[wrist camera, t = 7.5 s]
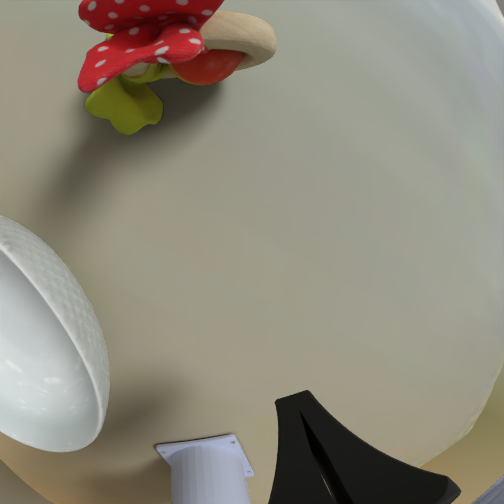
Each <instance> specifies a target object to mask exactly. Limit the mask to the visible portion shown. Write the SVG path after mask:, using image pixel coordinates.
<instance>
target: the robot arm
mask: <svg viewBox="0 0 504 504" xmlns="http://www.w3.org/2000/svg"><path fill="white" fill-rule="evenodd" d="M275 405H276V410H277V416H278V453H277V463H276V470H275V476H274V481H273V486H272V491H271V495H270V499H269V502H268V504H451V503H452V502H453V501H454V500H455V499H456V498H457V497H458V496H459V495H460V493H461V490H460V489H459V487H458V486H457V485H456V484H455V483H454V482H453V481H452V480H451V479H450V478H449V477H447V476H444V475H440V474H436V473H432V472H429V471H425V470H422V469H419V468H417V467H414V466H411V465H408V464H406V463H404V462H401V461H399V460H397V459H395V458H392V457H390V456H388V455H386V454H385V453H383V452H381V451H379V450H377V449H376V448H374V447H372V446H371V445H369V444H367V443H366V442H364V441H363V440H362V439H360V438H359V437H357V436H356V435H355V434H353V433H352V432H351V431H349V430H348V429H347V428H346V427H344V426H343V425H342V424H341V423H340V422H339V421H337V420H336V419H335V418H334V417H333V416H332V415H331V414H330V413H329V412H328V411H327V410H326V409H325V408H324V407H323V406H322V405H321V404H320V403H319V402H318V401H317V400H316V398H315V397H314V396H313V395H312V393H311V392H310V391H308V390H305V391H302V392H299V393H296V394H293V395H290V396H287V397H283V398H280V399H277V400H276V401H275ZM156 450H157V451H158V452H159V454H160V455H161V456H162V457H163V458H164V459H165V461H166V462H167V463H168V464H169V465H170V466H171V504H251V499H250V494H249V490H248V485H247V480H246V478H247V477H252V476H254V472H253V470H252V468H251V466H250V464H249V462H248V460H247V458H246V456H245V454H244V452H243V450H242V448H241V446H240V444H239V442H238V440H237V438H236V436H235V435H233V434H229V435H224V436H218V437H213V438H207V439H200V440H194V441H186V442H178V443H169V444H159V445H157V446H156ZM321 475H322V476H321ZM322 477H323V478H322ZM323 479H324V480H325V482H326V484H327V486H326V484H325V482H324V480H323ZM327 487H328V488H327ZM328 489H329V490H328ZM329 491H330V492H329ZM330 493H331V495H330ZM331 496H332V497H331ZM332 498H333V499H332ZM471 504H504V475H503V476H502V477H501V478H500V479H499V480H498V481H497V482H496V483H495V484H494V485H492V486H491V487H490V488H489V489H488V490H487V491H486V492H485V493H483V494H482V495H481V496H480V497H479V498H477V499H476V500H475V501H474V502H472V503H471Z"/></svg>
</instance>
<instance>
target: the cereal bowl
mask: <svg viewBox="0 0 504 504" xmlns="http://www.w3.org/2000/svg"><path fill="white" fill-rule="evenodd" d="M109 365H110V364H109V361H108V352H107V350H106V343H105V341H104V338H103V333H102V330H101V328H100V326H99V322H98V320H97V317H96V315H95V312H94V310H93V307H92V306H91V305H90V302H89V301H88V299H87V297H86V295H85V292H84V291H83V290H82V288H81V287H80V285H79V283H78V282H77V279H76V278H75V277H74V276H73V275H72V273H71V271H70V270H69V269H68V268H67V266H66V264H65V263H64V262H62V260H61V258H59V257H58V256H57V255H56V253H55V251H54V250H52V249H51V248H50V247H49V246H48V245H47V244H46V243H45V242H44V241H43V240H41V239H40V238H39V237H38V236H37V235H35V234H34V233H32V232H31V231H30V230H29V229H27V228H25V227H23V226H22V225H20V224H19V223H17V222H15V221H12V220H11V219H9V218H7V217H3V216H1V215H0V431H1V432H2V433H4V434H5V435H7V436H9V437H11V438H12V439H14V440H16V441H19V442H21V443H23V444H26V445H28V446H31V447H34V448H38V449H41V450H46V451H51V452H72V451H76V450H80V449H82V448H84V447H86V446H88V445H89V444H91V443H92V442H93V441H94V440H95V439H96V438H97V436H98V435H99V433H100V431H101V429H102V428H103V424H104V420H105V417H106V410H107V408H108V400H109V390H110V374H109Z"/></svg>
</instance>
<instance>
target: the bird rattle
mask: <svg viewBox="0 0 504 504" xmlns="http://www.w3.org/2000/svg"><path fill="white" fill-rule="evenodd" d="M223 1H224V0H83V1H82V2H81V4H80V5H79V9H78V13H79V17H80V19H81V20H83V21H84V22H85V23H87V24H88V25H89V26H90V27H91V28H93V29H95V30H97V31H99V32H104V33H108V34H107V35H106V39H105V41H104V42H102V43H100V44H98V45H96V46H94V47H93V48H92V49H90V50H89V51H88V52H87V54H86V59H85V62H84V64H83V66H82V69H81V71H80V74H79V77H78V87H79V89H80V90H81V91H82V92H86V93H90V92H93V91H94V92H93V93H92V94H91V95H90V96H89V97H88V98H87V99H86V101H85V107H86V110H87V111H88V112H89V113H91V114H92V115H94V116H96V117H99V118H105V119H108V120H110V121H111V123H112V125H113V127H114V128H115V129H116V130H117V131H118V132H119V133H123V134H127V135H131V134H134V133H136V132H137V131H138V130H140V129H141V128H142V127H144V126H146V125H147V124H154V125H155V124H157V123H158V122H159V121H160V119H161V116H162V112H163V102H162V101H161V100H160V99H159V98H158V96H157V95H156V94H155V93H154V92H153V91H152V90H151V89H150V88H149V87H148V86H147V85H146V83H147V82H153V81H156V80H159V79H168V78H179V79H181V80H182V81H184V82H187V83H190V84H194V85H209V84H213V83H216V82H219V81H221V80H223V79H225V78H226V77H228V76H229V75H231V74H232V73H233V72H234V71H237V70H241V69H246V68H250V67H253V66H256V65H259V64H261V63H264V62H266V61H267V60H269V59H270V58H271V57H272V56H273V55H274V54H275V51H276V36H275V32H274V30H273V29H272V27H271V26H270V25H269V24H267V23H266V22H265V21H263V20H261V19H259V18H256V17H254V16H251V15H247V14H243V13H238V12H232V11H219V10H217V9H218V8H219V7H220V5H221V4H222V3H223ZM145 82H146V83H145Z"/></svg>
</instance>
